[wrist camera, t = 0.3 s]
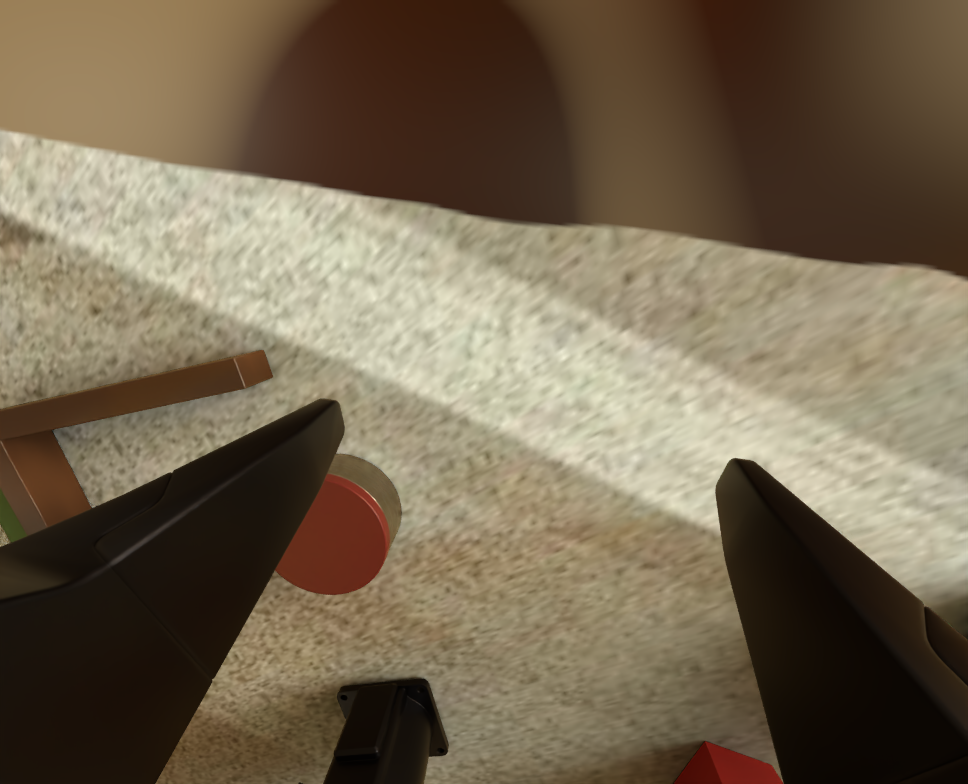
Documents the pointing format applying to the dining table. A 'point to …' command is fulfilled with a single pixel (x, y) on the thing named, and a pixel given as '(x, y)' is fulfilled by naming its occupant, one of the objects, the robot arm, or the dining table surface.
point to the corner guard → (28, 427)
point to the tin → (344, 530)
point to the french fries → (726, 768)
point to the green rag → (10, 520)
